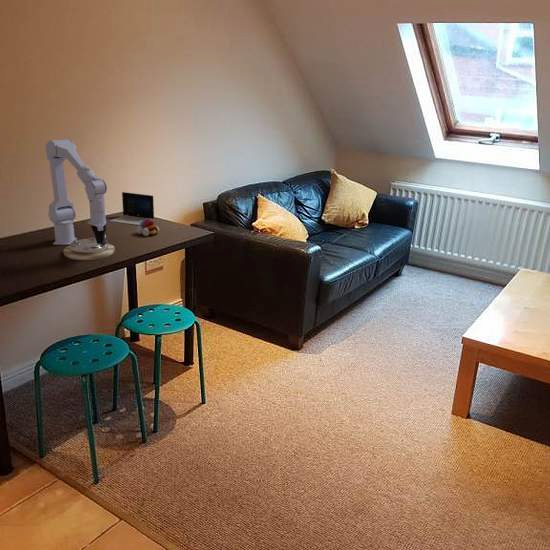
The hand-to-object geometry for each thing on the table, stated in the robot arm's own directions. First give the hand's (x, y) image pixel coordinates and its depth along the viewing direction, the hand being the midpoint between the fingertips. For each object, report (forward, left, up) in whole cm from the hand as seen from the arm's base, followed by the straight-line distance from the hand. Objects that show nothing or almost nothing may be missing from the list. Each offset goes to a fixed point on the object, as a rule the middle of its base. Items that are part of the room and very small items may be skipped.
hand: (99, 243), depth 221 cm
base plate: (-3, -5, -5) cm, 8 cm away
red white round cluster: (-32, +16, -5) cm, 36 cm away
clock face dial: (-3, -5, -3) cm, 7 cm away
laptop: (-55, +6, -6) cm, 56 cm away
